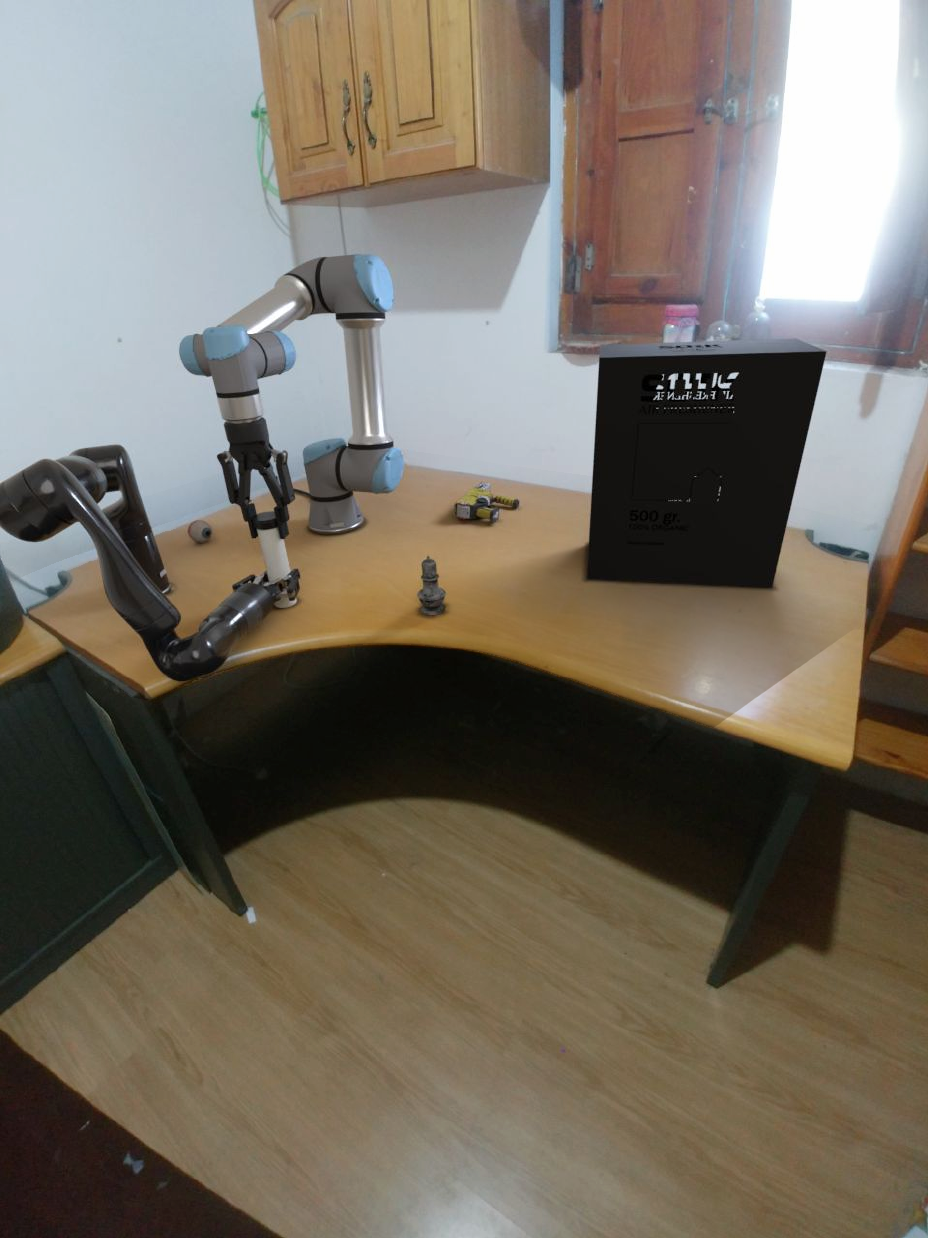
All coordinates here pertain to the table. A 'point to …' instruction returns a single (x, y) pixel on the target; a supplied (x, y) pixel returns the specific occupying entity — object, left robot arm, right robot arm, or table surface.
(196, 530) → the eyeball
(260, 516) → the lid
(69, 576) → the table surface
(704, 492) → the cardboard box
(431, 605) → the salt shaker
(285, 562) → the bottle
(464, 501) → the toy gun
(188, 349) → the right robot arm
